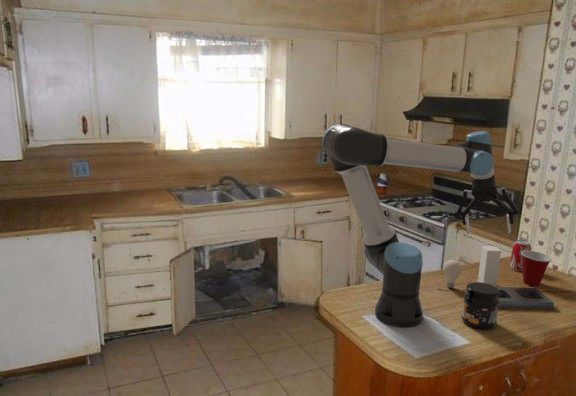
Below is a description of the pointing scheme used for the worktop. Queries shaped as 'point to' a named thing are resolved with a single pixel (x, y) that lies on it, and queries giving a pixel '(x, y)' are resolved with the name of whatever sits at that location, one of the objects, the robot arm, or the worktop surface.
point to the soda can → (518, 254)
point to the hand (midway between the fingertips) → (488, 232)
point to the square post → (489, 265)
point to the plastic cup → (534, 266)
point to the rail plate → (516, 300)
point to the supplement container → (480, 305)
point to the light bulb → (451, 272)
